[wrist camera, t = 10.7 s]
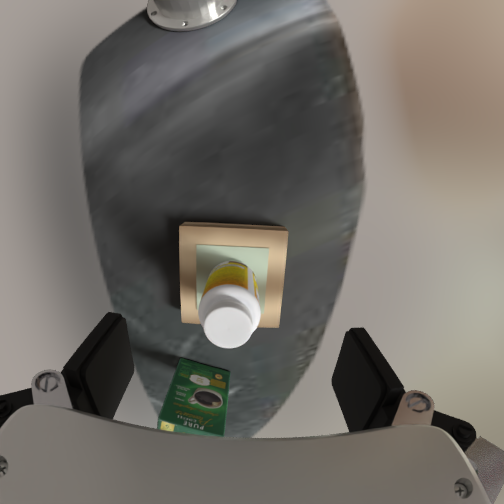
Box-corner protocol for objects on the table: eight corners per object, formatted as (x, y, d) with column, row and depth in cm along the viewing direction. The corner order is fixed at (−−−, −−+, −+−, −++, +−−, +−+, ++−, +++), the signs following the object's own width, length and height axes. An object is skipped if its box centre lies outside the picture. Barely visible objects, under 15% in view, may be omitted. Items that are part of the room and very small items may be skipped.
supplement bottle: (198, 278, 31) (179, 322, 21) (236, 249, 30) (231, 283, 20) (229, 313, 32) (224, 366, 22) (266, 286, 31) (276, 333, 22)
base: (185, 221, 33) (178, 226, 29) (284, 226, 33) (288, 231, 30) (186, 311, 36) (181, 323, 33) (276, 316, 36) (278, 328, 33)
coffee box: (175, 369, 38) (155, 432, 25) (178, 355, 37) (157, 419, 25) (226, 383, 39) (221, 449, 26) (231, 370, 38) (227, 437, 26)
